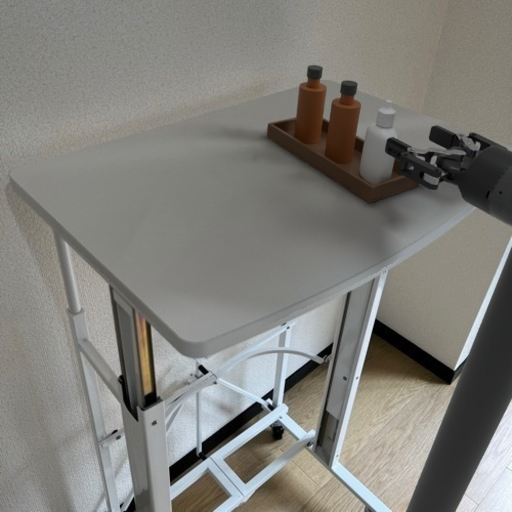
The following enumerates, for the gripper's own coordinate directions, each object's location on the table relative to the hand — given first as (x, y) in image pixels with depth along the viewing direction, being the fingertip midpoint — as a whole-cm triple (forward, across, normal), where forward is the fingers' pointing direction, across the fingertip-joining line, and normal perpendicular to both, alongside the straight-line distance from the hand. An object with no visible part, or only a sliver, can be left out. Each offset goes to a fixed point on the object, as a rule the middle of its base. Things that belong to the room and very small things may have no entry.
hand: (410, 138), depth 75 cm
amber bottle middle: (+13, 0, +8) cm, 15 cm away
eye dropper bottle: (+5, 0, +9) cm, 10 cm away
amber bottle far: (+21, 0, +8) cm, 23 cm away
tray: (+13, 0, +9) cm, 16 cm away
